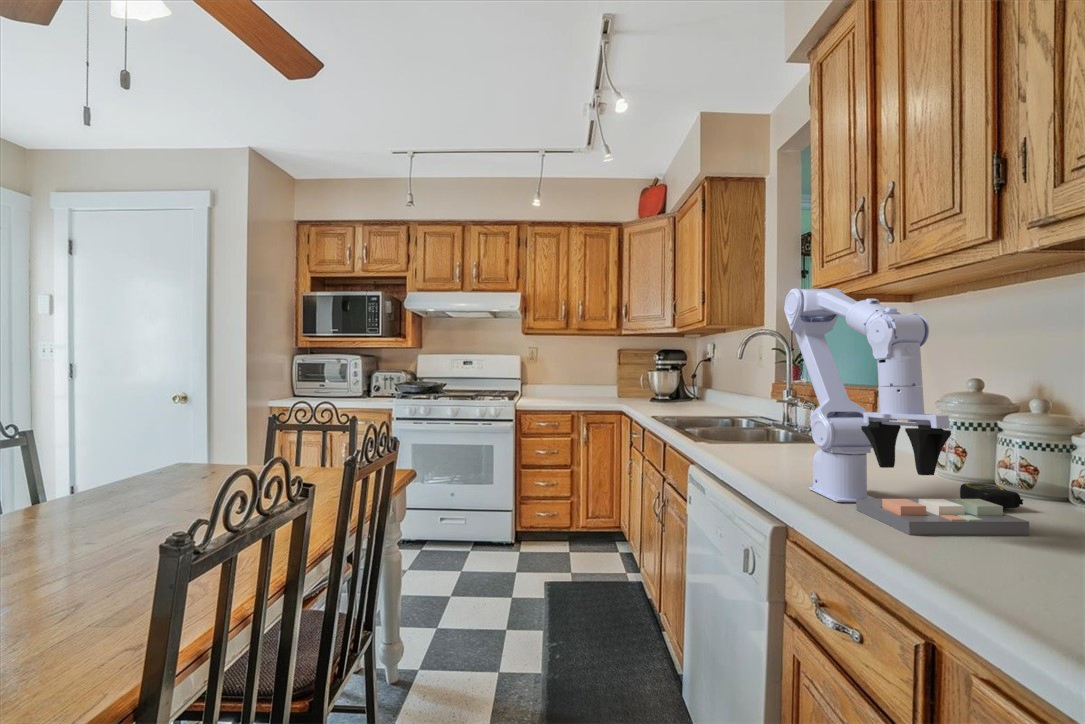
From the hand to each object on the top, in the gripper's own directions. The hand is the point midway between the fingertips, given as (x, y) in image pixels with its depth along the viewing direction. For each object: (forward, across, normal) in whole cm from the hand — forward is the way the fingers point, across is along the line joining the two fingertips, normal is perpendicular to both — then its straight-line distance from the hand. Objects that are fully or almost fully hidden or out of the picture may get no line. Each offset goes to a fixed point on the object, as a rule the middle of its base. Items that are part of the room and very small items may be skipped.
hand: (905, 471), depth 75 cm
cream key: (+7, -1, +6) cm, 10 cm away
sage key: (+7, 0, +12) cm, 14 cm away
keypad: (+8, -2, +6) cm, 11 cm away
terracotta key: (+7, -1, 0) cm, 7 cm away
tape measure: (+8, -8, +22) cm, 25 cm away
